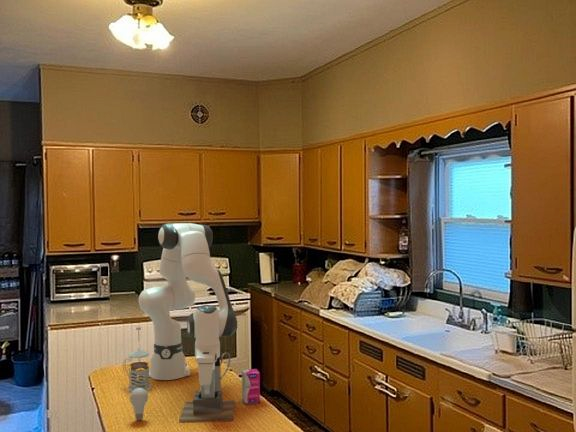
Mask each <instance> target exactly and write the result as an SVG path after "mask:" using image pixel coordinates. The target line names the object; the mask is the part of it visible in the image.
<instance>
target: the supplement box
mask: <svg viewBox="0 0 576 432" xmlns="http://www.w3.org/2000/svg"><path fill="white" fill-rule="evenodd" d="M241 380H242V381H241V400H242V402H243V404H244V405H253V404H260V403H261V399H260V398H261V396H260V394H261V389H260V388H261V387H260V385H261V373H260V371H259V370H258V369H257V368H252V369H251V368H250V369H242V370H241Z"/></svg>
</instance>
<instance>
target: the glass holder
mask: <svg viewBox="0 0 576 432" xmlns="http://www.w3.org/2000/svg"><path fill="white" fill-rule="evenodd" d="M225 354H227V355H228V362H227V363H228V364H227V366H226V370H225V371H224V372H223V374H222V373H221V372H222V371H221V369H222V367H221V365H222V364H223V358H224V356H225ZM230 364H231V354H230V353H228V352H223V353H222V355H220V357H219V358H217V361H216V362H215V391H222V392H223V389H222V385H221V384H222V379H223V378H224V376H225V375H226V373H227V372H228V370H229V368H230ZM199 391H201V388H200V390H199Z"/></svg>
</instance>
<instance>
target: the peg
mask: <svg viewBox="0 0 576 432" xmlns="http://www.w3.org/2000/svg"><path fill="white" fill-rule="evenodd" d="M200 389H201V399H202V398H215V370H213V373H212V382H211V385H210V393H209V394H205V393H204V386H201V385H200Z"/></svg>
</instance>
